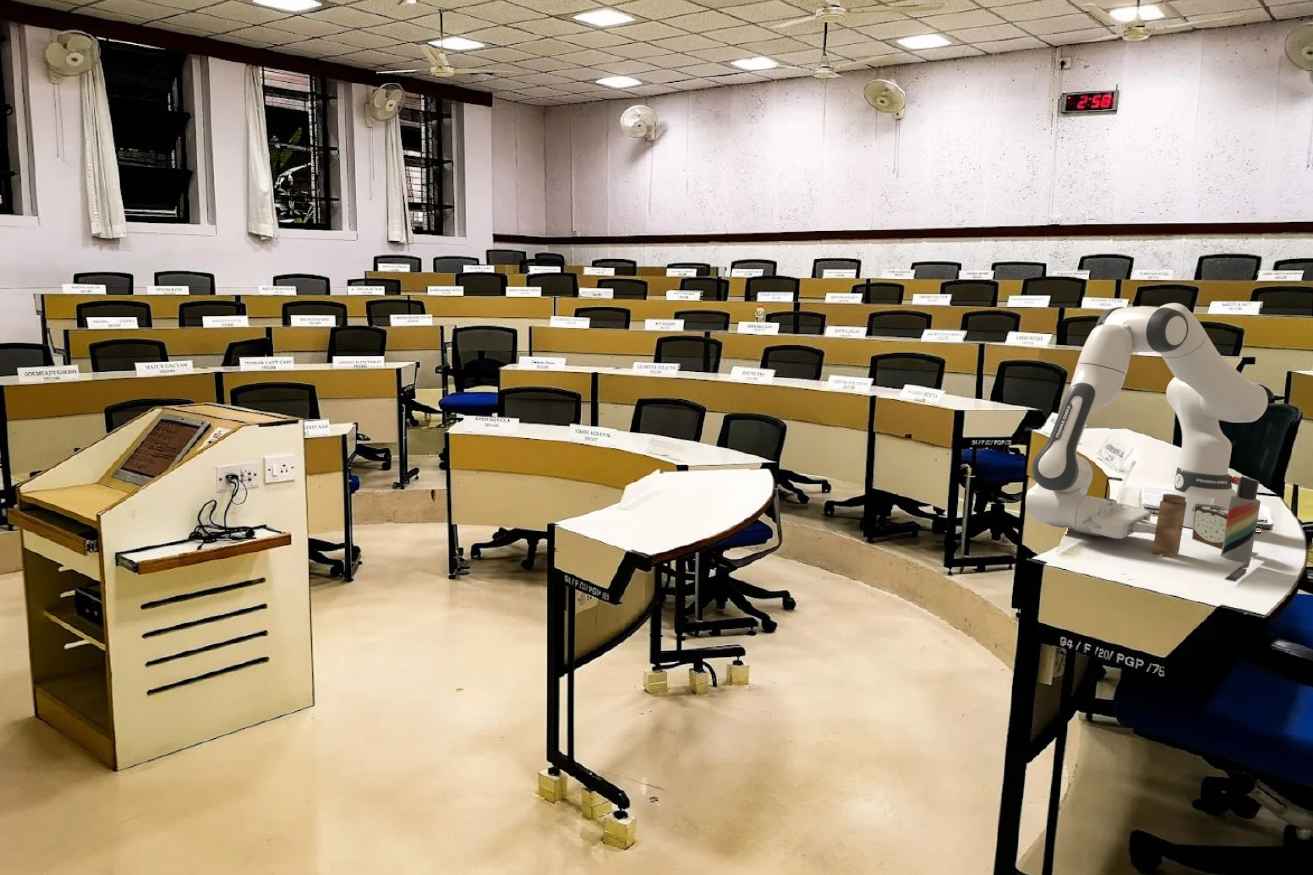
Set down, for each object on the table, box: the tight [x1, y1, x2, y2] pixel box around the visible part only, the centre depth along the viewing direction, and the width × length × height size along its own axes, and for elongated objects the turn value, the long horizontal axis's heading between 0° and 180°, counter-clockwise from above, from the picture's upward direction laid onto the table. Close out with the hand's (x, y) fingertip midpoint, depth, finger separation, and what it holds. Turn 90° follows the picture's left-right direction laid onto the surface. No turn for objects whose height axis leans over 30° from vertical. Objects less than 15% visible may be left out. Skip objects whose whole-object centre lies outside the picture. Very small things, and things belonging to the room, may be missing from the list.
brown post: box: [1151, 493, 1187, 558], centre depth 211 cm, size 4×8×13 cm, turn 136°
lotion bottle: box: [1220, 475, 1261, 569], centre depth 210 cm, size 6×6×20 cm
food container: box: [1191, 504, 1229, 550], centre depth 222 cm, size 12×6×10 cm, turn 17°
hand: (1159, 529), depth 212 cm, fingers closed, pressing on brown post
